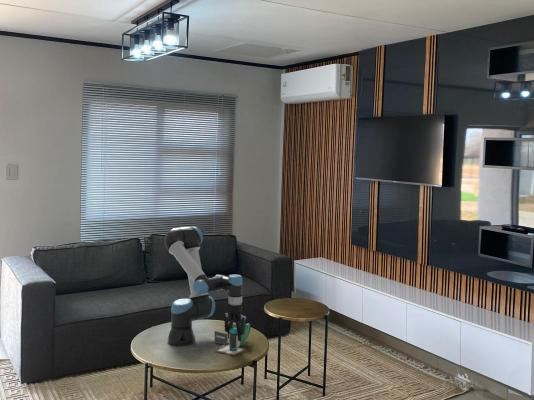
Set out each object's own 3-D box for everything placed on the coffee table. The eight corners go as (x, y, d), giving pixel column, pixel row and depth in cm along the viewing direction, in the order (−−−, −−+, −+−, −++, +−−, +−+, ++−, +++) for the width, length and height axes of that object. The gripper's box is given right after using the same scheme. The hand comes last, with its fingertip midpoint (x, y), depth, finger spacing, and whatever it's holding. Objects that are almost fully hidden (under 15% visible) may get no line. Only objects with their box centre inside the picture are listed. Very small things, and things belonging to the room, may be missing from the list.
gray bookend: (213, 342, 322) (213, 331, 321) (216, 340, 324) (216, 330, 324) (225, 344, 318) (225, 334, 317) (228, 343, 320) (228, 332, 320)
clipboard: (215, 351, 307) (215, 349, 307) (225, 345, 316) (226, 343, 316) (235, 356, 301) (235, 354, 301) (246, 350, 310) (246, 347, 310)
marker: (232, 347, 311) (233, 327, 311) (238, 349, 309) (239, 329, 308) (227, 349, 308) (228, 329, 307) (233, 351, 306) (233, 330, 305)
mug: (243, 347, 314) (243, 330, 313) (228, 344, 318) (228, 327, 317) (256, 340, 327) (256, 323, 326) (241, 337, 331) (241, 320, 330)
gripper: (218, 302, 308) (217, 344, 310) (244, 307, 300) (244, 350, 302) (225, 299, 315) (225, 340, 317) (252, 304, 307) (251, 346, 309)
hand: (234, 345), depth 309 cm, fingers closed on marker, 4 cm apart
